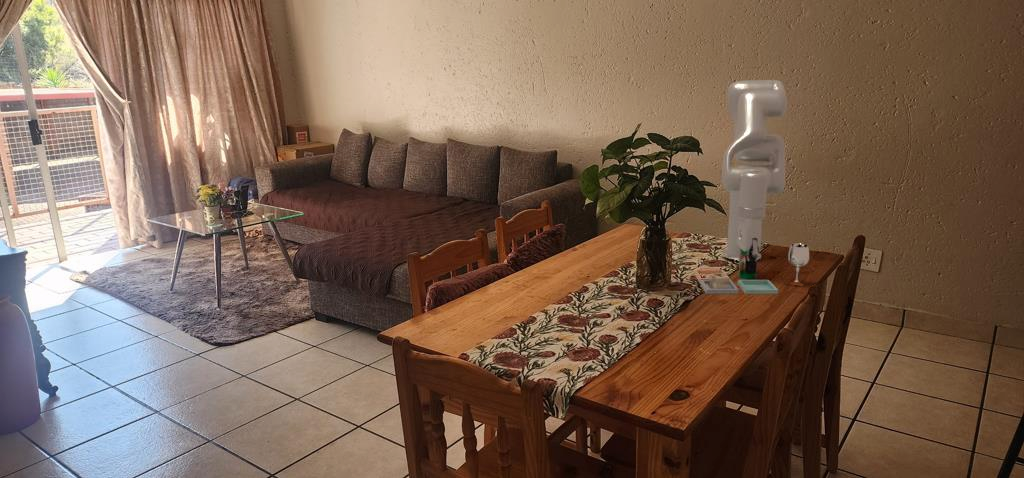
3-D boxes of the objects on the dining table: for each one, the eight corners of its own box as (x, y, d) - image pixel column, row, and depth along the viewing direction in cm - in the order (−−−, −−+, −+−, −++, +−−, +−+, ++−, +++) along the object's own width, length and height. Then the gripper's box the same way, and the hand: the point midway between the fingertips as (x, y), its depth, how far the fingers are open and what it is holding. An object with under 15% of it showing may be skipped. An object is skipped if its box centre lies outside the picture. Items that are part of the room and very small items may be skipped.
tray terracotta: (693, 275, 208) (694, 269, 207) (722, 275, 207) (723, 269, 207) (699, 284, 199) (699, 278, 199) (729, 284, 199) (730, 278, 198)
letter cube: (709, 287, 195) (709, 273, 194) (721, 285, 196) (722, 272, 195) (715, 291, 191) (716, 277, 190) (728, 290, 192) (729, 276, 191)
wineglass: (803, 288, 193) (807, 249, 190) (783, 285, 197) (786, 246, 194) (808, 283, 198) (812, 244, 195) (788, 279, 201) (792, 241, 198)
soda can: (753, 276, 205) (756, 239, 202) (757, 281, 201) (760, 243, 198) (736, 276, 206) (739, 239, 203) (740, 281, 201) (743, 243, 198)
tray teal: (737, 285, 197) (737, 279, 197) (768, 285, 197) (768, 279, 196) (745, 295, 189) (745, 289, 188) (777, 295, 188) (778, 289, 188)
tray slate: (699, 285, 198) (700, 279, 198) (730, 285, 198) (730, 279, 197) (706, 295, 190) (706, 289, 189) (738, 295, 189) (738, 289, 188)
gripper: (731, 206, 206) (728, 262, 211) (746, 219, 190) (742, 279, 195) (756, 206, 206) (752, 262, 210) (773, 218, 189) (768, 279, 194)
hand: (747, 269), depth 203 cm, fingers closed on soda can, 5 cm apart
